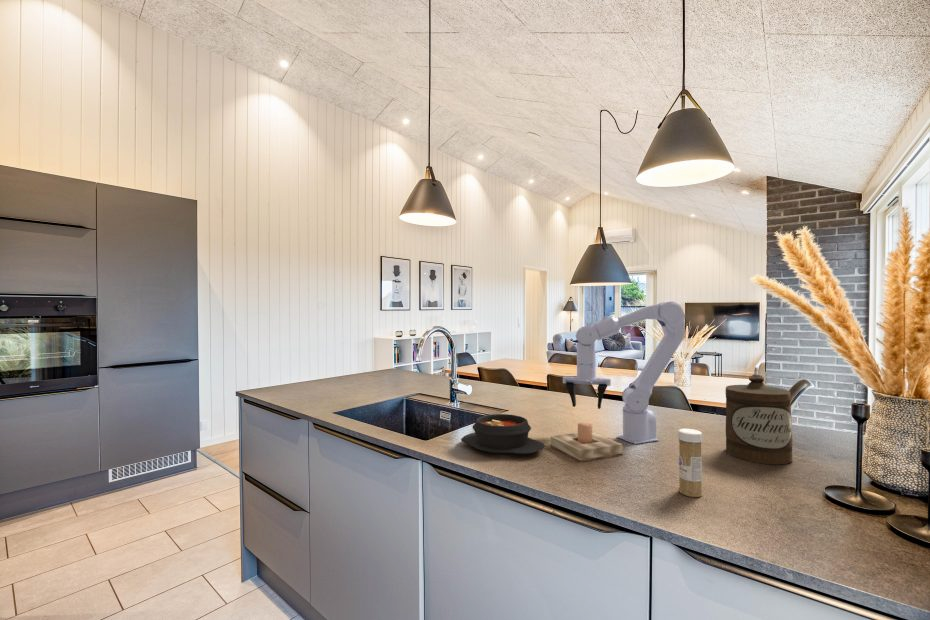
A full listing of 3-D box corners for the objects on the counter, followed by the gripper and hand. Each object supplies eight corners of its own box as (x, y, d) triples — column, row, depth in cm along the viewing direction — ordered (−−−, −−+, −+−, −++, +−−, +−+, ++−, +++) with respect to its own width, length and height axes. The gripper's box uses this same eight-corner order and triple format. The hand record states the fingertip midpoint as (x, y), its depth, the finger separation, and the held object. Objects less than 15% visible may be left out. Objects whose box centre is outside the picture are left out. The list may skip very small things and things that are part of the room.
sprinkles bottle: (674, 489, 92) (673, 428, 92) (693, 488, 92) (693, 427, 92) (687, 498, 87) (686, 434, 87) (708, 497, 87) (707, 433, 88)
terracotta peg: (586, 446, 121) (586, 421, 121) (595, 450, 117) (595, 425, 117) (575, 447, 119) (574, 423, 119) (583, 452, 116) (583, 426, 116)
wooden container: (736, 461, 109) (734, 377, 109) (719, 445, 123) (718, 370, 123) (803, 467, 104) (802, 379, 105) (778, 449, 118) (777, 372, 119)
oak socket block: (589, 441, 127) (589, 431, 127) (622, 455, 114) (622, 444, 114) (550, 446, 122) (550, 436, 122) (580, 461, 109) (580, 450, 109)
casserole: (554, 447, 122) (554, 418, 122) (527, 466, 106) (526, 433, 106) (481, 434, 136) (481, 408, 136) (448, 449, 120) (447, 420, 120)
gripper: (560, 364, 131) (561, 407, 131) (609, 366, 126) (609, 411, 125) (564, 362, 138) (565, 403, 138) (611, 364, 132) (611, 407, 132)
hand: (586, 407), depth 132 cm, fingers open, 7 cm apart
